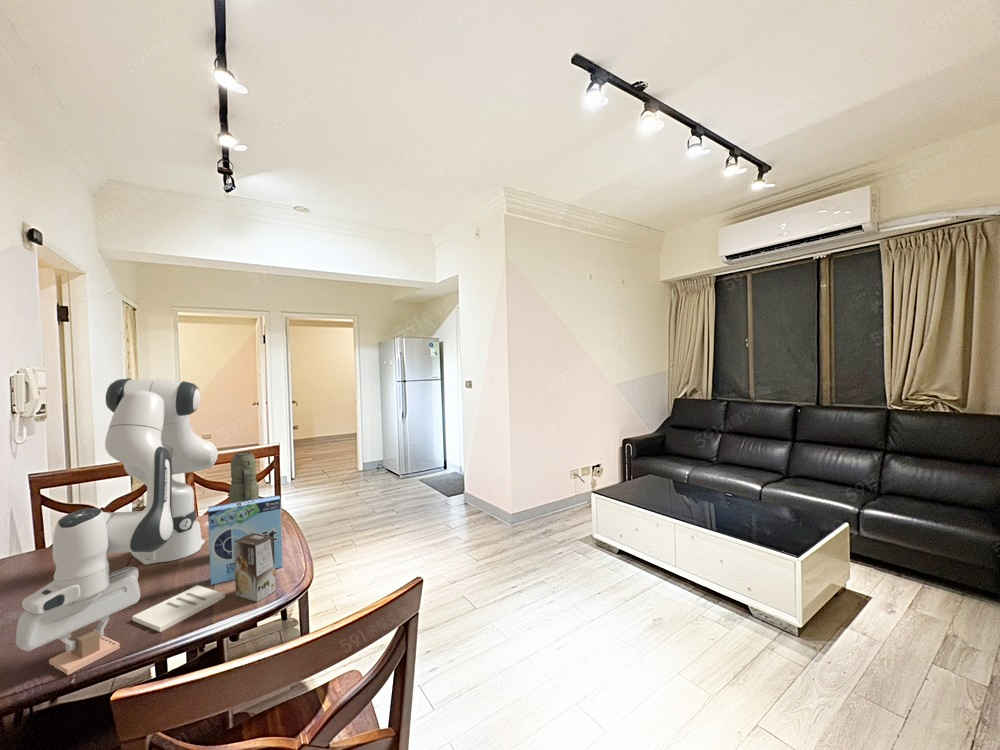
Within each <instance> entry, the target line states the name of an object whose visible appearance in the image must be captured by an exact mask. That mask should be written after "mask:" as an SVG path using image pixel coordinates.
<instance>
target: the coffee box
mask: <svg viewBox="0 0 1000 750" xmlns="http://www.w3.org/2000/svg"><path fill="white" fill-rule="evenodd" d="M234 556H235V579H234V580H235V581H234V582H235V583H234V584H235V585H234V586H235V596H236V597H238V596H239V598H243V599H245V600H249V601H253V602H260V601H262V600H263V599H265V598H266V597H268V596H270V595H271V594H273V593H274V592H273V591H275V590H276V591H277V589H276V569H275V554H274V537H270V536H265V535H260V534H255V533H252V534H249V535H247V536H244V537H242V538H240V539H238V540H236V541H234ZM276 591H275V592H276ZM272 592H273V593H272ZM269 594H270V595H269Z"/></svg>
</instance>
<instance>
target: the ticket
mask: <svg viewBox="0 0 1000 750" xmlns="http://www.w3.org/2000/svg"><path fill="white" fill-rule="evenodd" d="M225 596H226V594H225V593H224V592H220V591H217V590H213V589H211V588H208V587H205V586H202V585H200V584H199V585H198V584H197V585H195V586H193V587H191V588H189V589H187V590H184V591H182V592H181V593H178V594H177V595H174V596H172V597H170V598H168V599H167V598H166V599H165V600H164V601H161V602H160V603H157V604H155V605H152V606H150V607H149V608H147V609H145V610H142V611H140V612H138V613H136V614H134V615H132V617H131V620H132V622H135V623H137V624H139V625H142V626H144V627H147V628H150V629H151V630H154V631H157V632H159V633H161V632H163V631H165V630H167V629H168V628H171V627H172V626H174V625H177V624H179V623H180V622H182V621H184V620H186V619H188V618H190V617H192V616H193V615H196V614H198V613H199V612H201V611H203V610H205V609H206V608H209V607H210V606H212V605H215V604H216V603H218V602H220V601H222V600H223V598H224V599H226V597H225ZM221 599H222V600H221ZM219 600H220V601H219Z"/></svg>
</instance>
